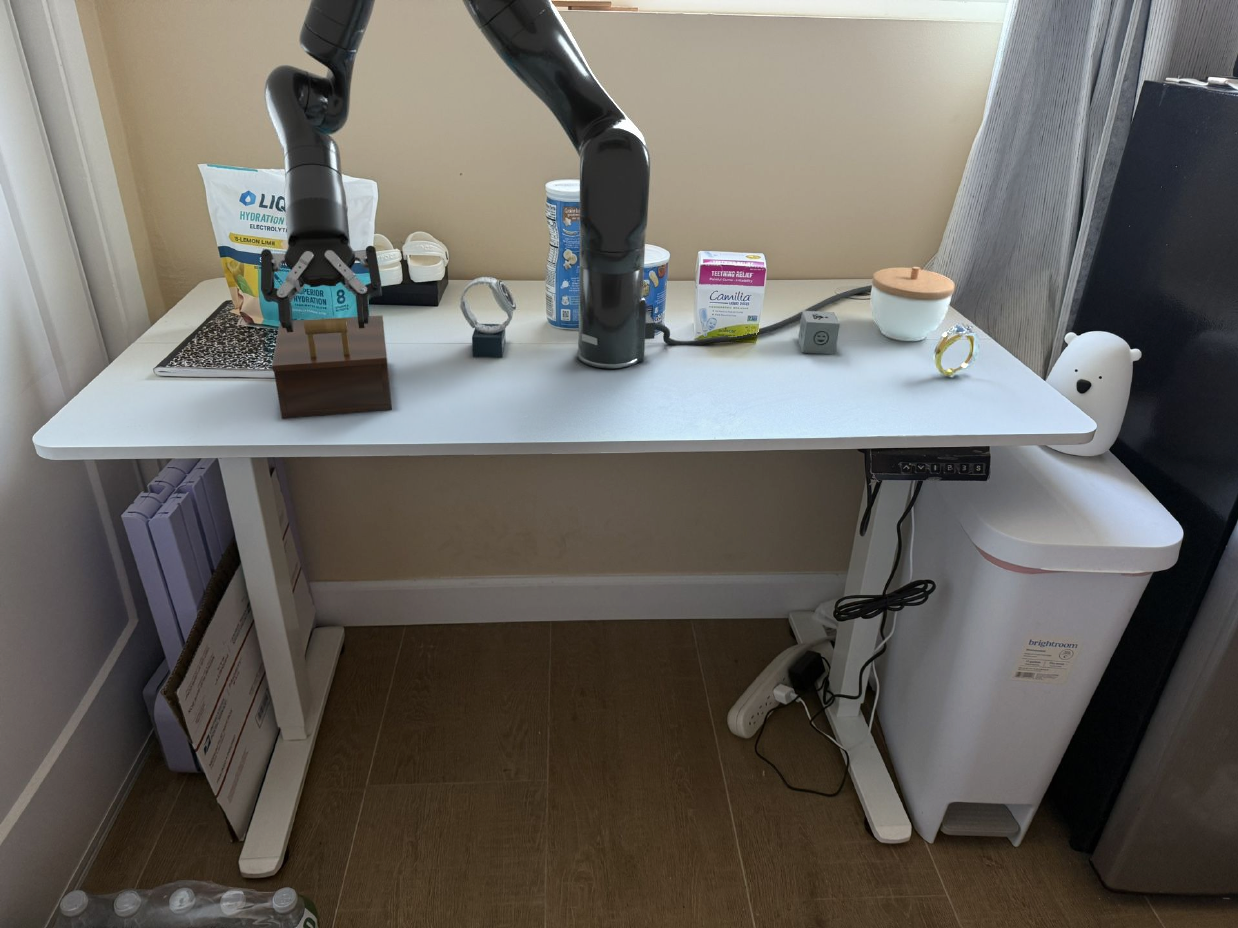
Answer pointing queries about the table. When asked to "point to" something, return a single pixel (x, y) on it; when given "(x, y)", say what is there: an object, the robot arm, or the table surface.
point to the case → (333, 390)
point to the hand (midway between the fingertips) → (326, 328)
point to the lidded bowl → (909, 302)
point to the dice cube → (818, 332)
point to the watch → (489, 336)
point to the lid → (330, 344)
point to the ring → (944, 345)
